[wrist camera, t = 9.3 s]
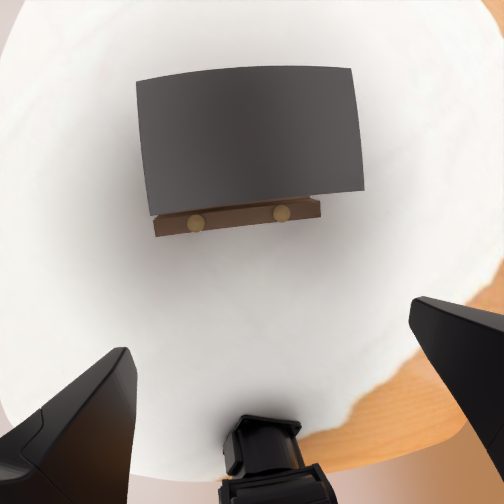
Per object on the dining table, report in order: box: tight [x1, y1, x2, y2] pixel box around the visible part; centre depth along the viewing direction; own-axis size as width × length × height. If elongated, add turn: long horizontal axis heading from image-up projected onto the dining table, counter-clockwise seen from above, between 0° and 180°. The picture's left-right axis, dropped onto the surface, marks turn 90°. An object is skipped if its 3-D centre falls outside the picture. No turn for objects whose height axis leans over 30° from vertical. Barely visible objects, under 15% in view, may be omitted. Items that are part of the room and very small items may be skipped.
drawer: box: [153, 195, 321, 237], centre depth 18 cm, size 8×10×4 cm
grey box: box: [136, 66, 364, 216], centre depth 13 cm, size 4×6×11 cm, turn 96°
